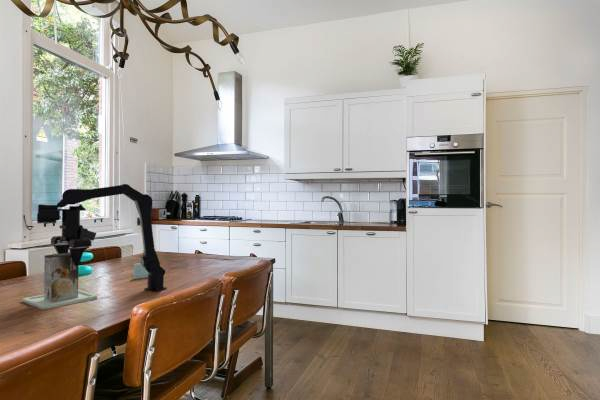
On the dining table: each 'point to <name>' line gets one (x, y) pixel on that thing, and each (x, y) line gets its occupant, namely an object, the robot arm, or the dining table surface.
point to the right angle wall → (140, 271)
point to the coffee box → (60, 277)
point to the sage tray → (44, 304)
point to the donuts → (85, 269)
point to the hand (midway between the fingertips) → (70, 264)
